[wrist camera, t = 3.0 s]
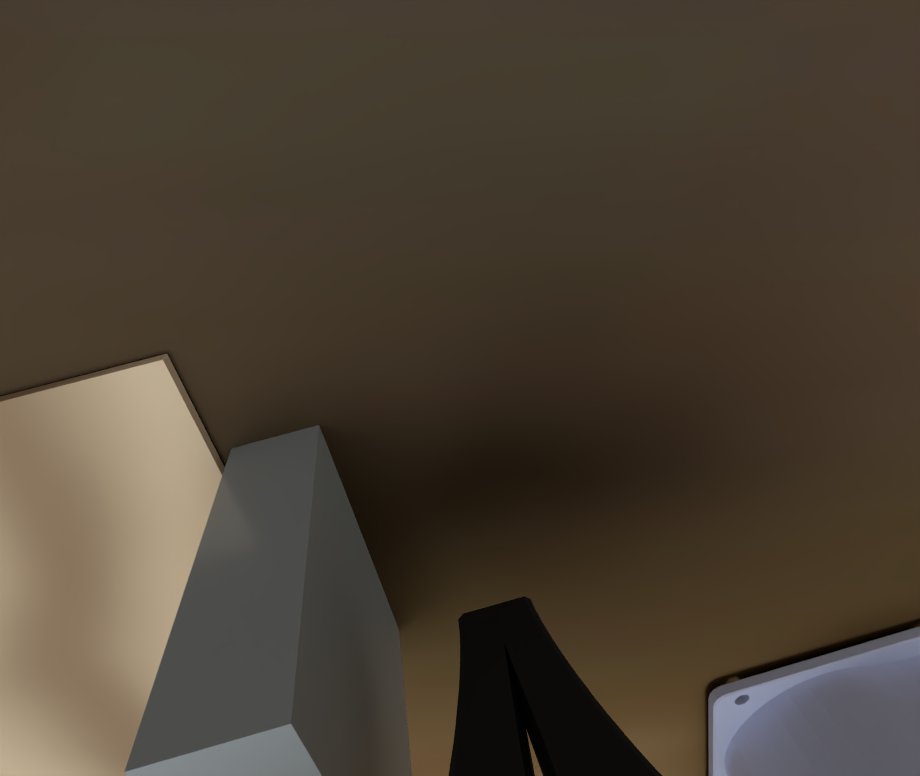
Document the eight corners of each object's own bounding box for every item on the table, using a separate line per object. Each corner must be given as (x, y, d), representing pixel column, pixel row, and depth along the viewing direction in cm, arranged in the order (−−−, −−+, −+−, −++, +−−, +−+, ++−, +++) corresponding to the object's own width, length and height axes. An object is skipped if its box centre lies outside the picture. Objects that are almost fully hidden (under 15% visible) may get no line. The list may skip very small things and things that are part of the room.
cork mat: (166, 353, 12) (162, 359, 11) (346, 707, 17) (345, 717, 17) (-315, 478, 11) (-331, 487, 11) (31, 798, 17) (26, 809, 17)
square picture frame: (319, 424, 13) (291, 724, 7) (399, 629, 16) (427, 952, 10) (221, 450, 13) (105, 777, 7) (321, 651, 16) (304, 991, 10)
